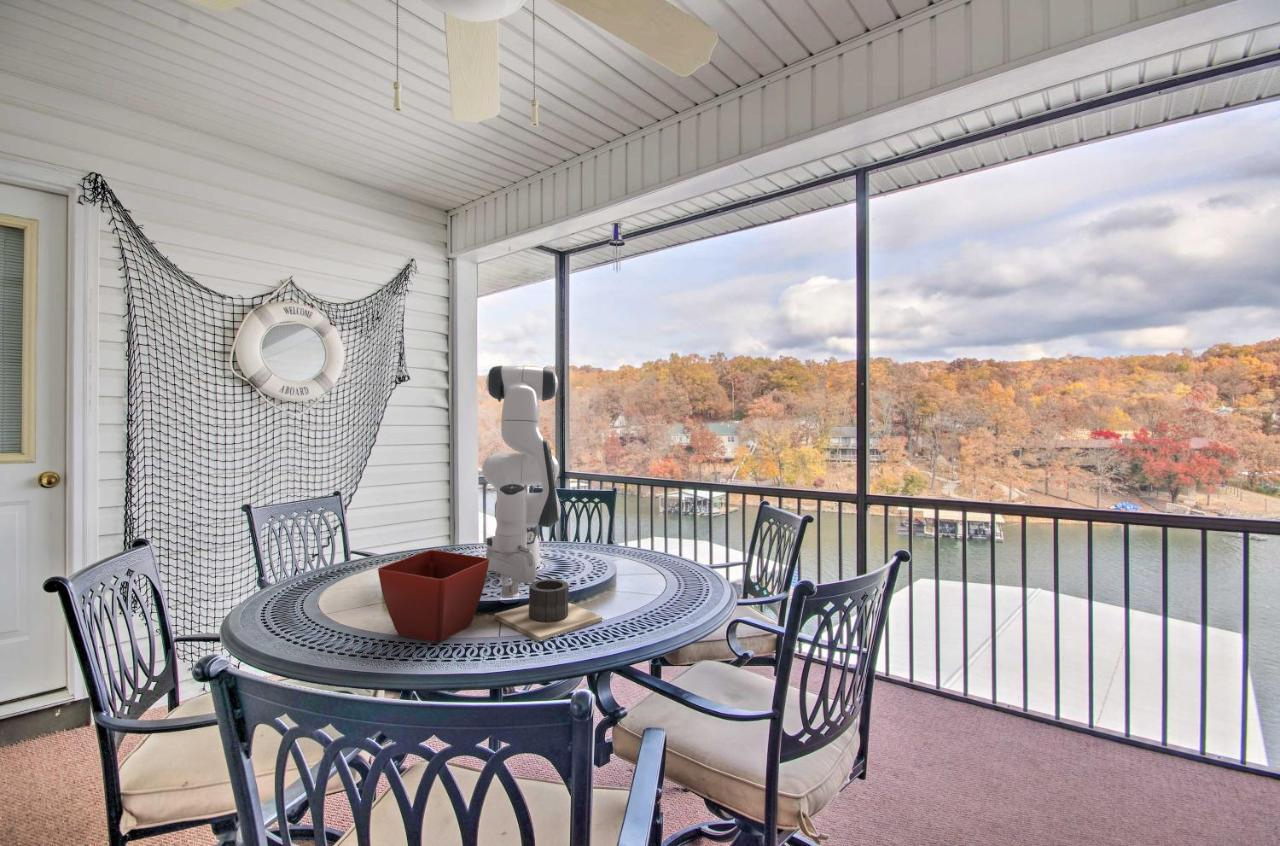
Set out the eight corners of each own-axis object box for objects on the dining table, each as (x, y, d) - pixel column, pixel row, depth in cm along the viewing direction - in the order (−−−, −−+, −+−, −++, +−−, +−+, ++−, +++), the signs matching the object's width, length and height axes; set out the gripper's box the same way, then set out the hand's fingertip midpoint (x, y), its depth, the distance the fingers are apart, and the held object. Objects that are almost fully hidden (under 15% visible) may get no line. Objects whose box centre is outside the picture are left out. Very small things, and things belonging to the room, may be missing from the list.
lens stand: (494, 618, 153) (495, 583, 153) (555, 601, 168) (556, 569, 167) (539, 642, 139) (540, 604, 139) (602, 621, 154) (603, 586, 153)
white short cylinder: (506, 606, 162) (507, 588, 162) (495, 600, 166) (496, 583, 166) (523, 601, 166) (524, 584, 166) (512, 596, 170) (512, 579, 170)
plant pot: (440, 652, 132) (441, 578, 132) (374, 638, 139) (375, 568, 138) (490, 622, 150) (491, 558, 150) (429, 611, 157) (430, 549, 156)
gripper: (542, 548, 160) (540, 598, 161) (501, 534, 175) (500, 580, 175) (522, 552, 156) (521, 603, 157) (482, 537, 170) (481, 584, 171)
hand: (509, 590), depth 166 cm, fingers closed on white short cylinder
